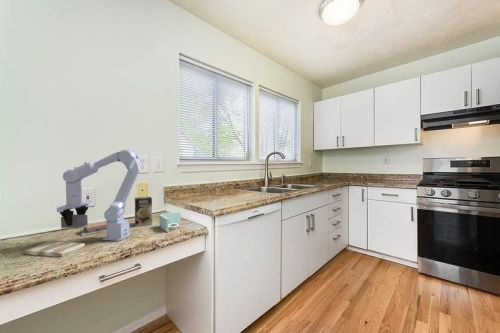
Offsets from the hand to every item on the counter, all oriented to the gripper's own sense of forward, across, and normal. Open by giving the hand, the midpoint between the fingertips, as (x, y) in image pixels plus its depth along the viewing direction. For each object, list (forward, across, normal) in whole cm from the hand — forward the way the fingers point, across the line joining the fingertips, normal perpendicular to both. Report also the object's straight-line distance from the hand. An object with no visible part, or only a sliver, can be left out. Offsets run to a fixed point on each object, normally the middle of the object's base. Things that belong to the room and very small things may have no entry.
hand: (74, 223), depth 102 cm
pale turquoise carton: (+9, -27, +36) cm, 46 cm away
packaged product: (+9, -16, -1) cm, 19 cm away
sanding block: (+2, 0, 0) cm, 2 cm away
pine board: (+8, +10, +2) cm, 13 cm away
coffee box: (+9, -29, +15) cm, 34 cm away
